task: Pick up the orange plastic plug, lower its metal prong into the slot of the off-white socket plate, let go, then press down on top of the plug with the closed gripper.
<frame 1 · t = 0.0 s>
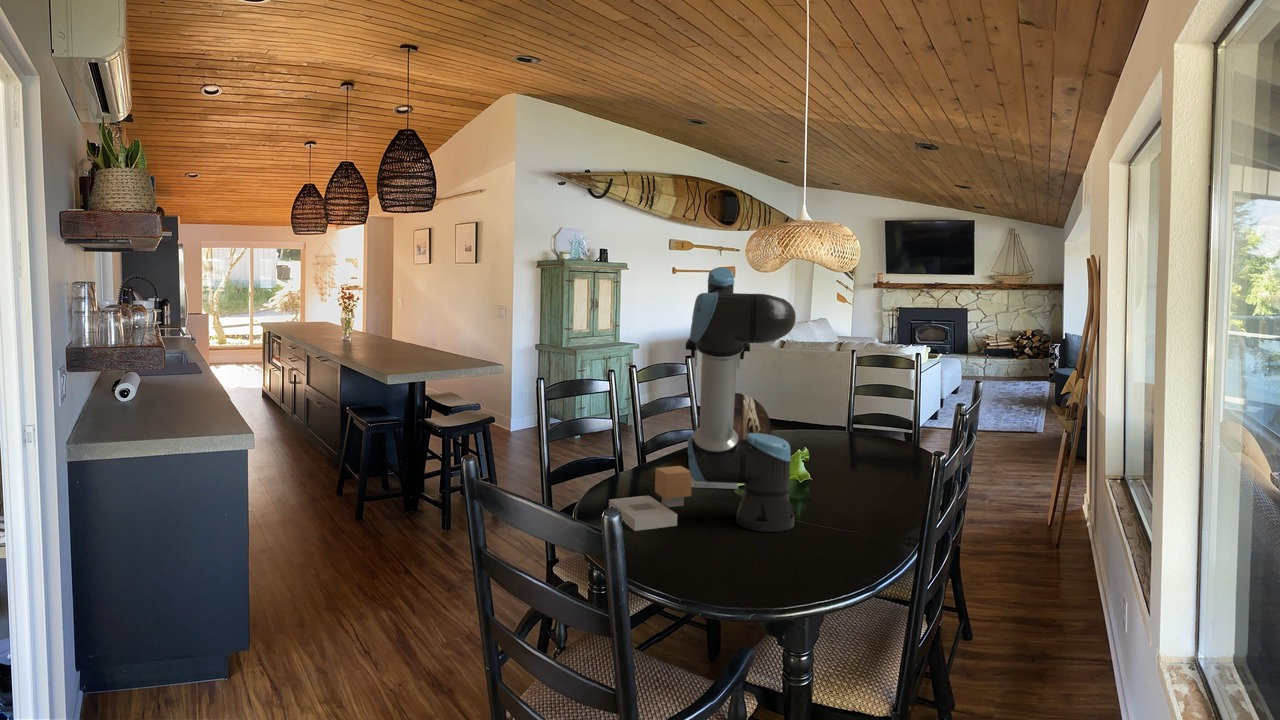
hand: (716, 365, 247), 36 cm above the table, tool tilted 35°, fingers open, 13 cm apart
plug: (672, 504, 217), on the table
tea box: (713, 485, 238), on the table
sphere: (732, 465, 263), on the table
socket plate: (642, 517, 205), on the table
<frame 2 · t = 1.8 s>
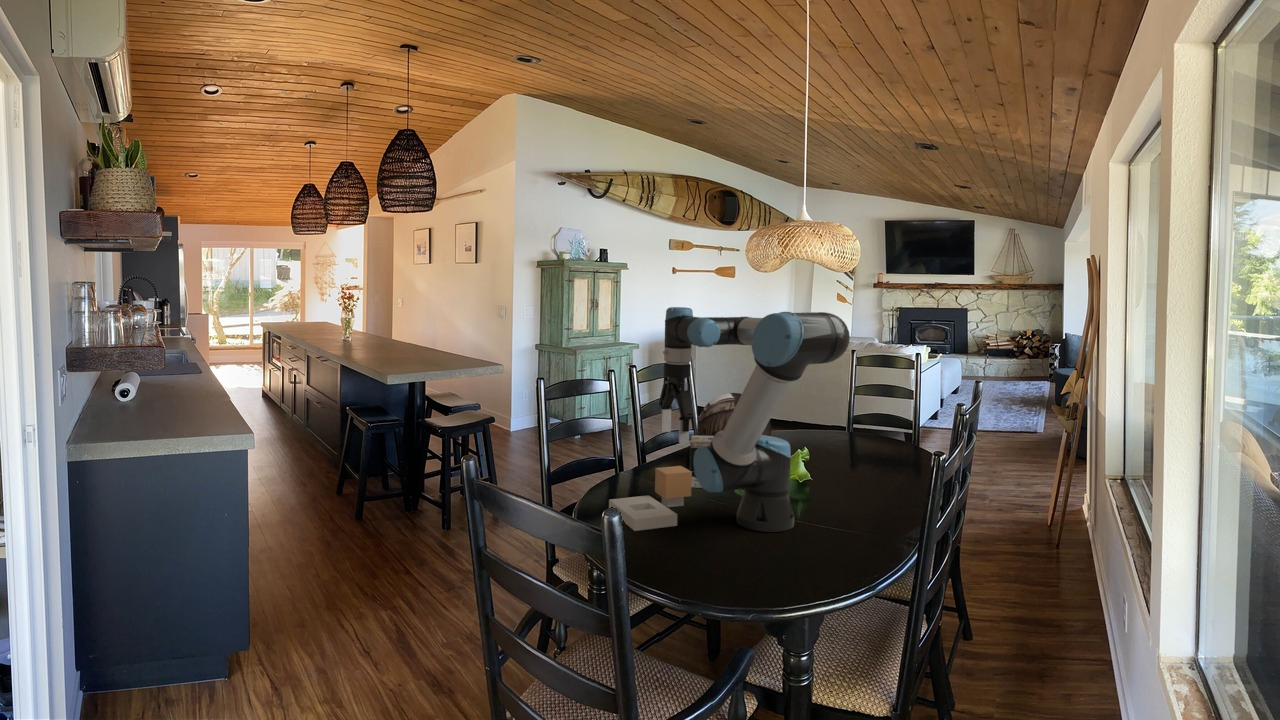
hand: (674, 437, 217), 19 cm above the table, tool pointing down, fingers open, 13 cm apart
nothing on the table moved.
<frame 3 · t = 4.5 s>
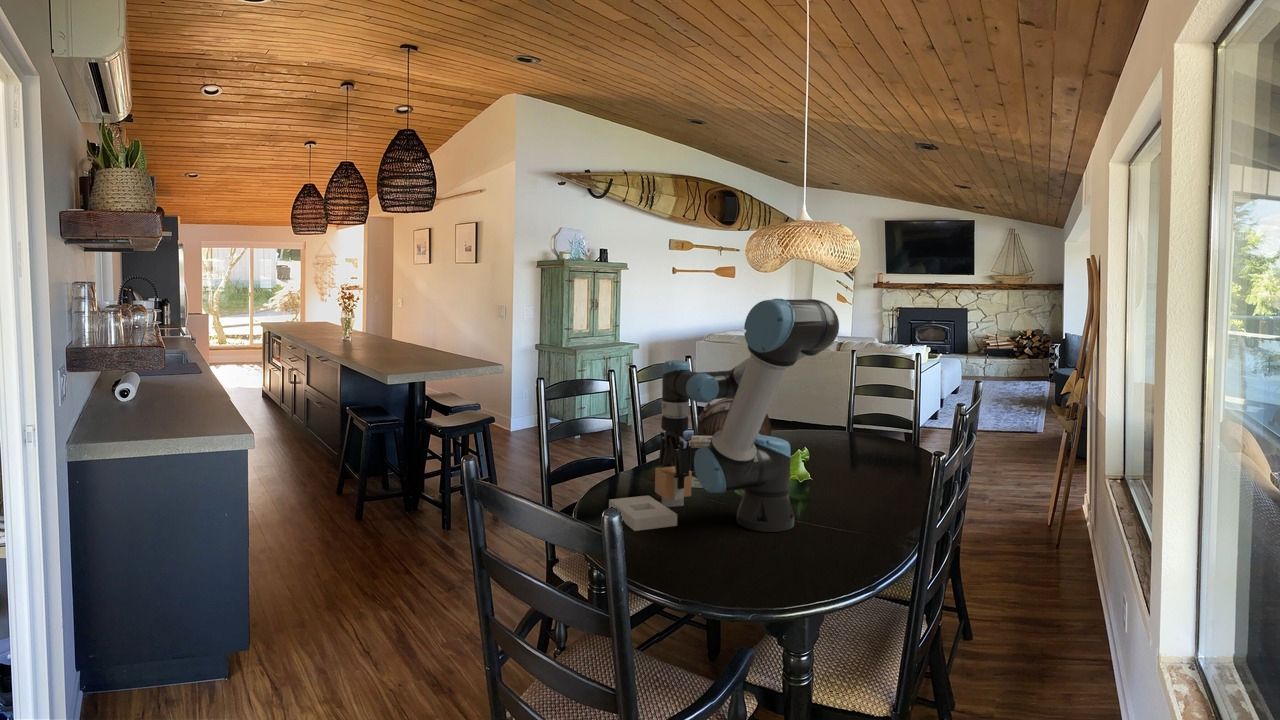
hand: (672, 495, 217), 3 cm above the table, tool pointing down, fingers closed on plug, 7 cm apart
plug: (672, 504, 217), on the table, touching gripper
everything else where it was.
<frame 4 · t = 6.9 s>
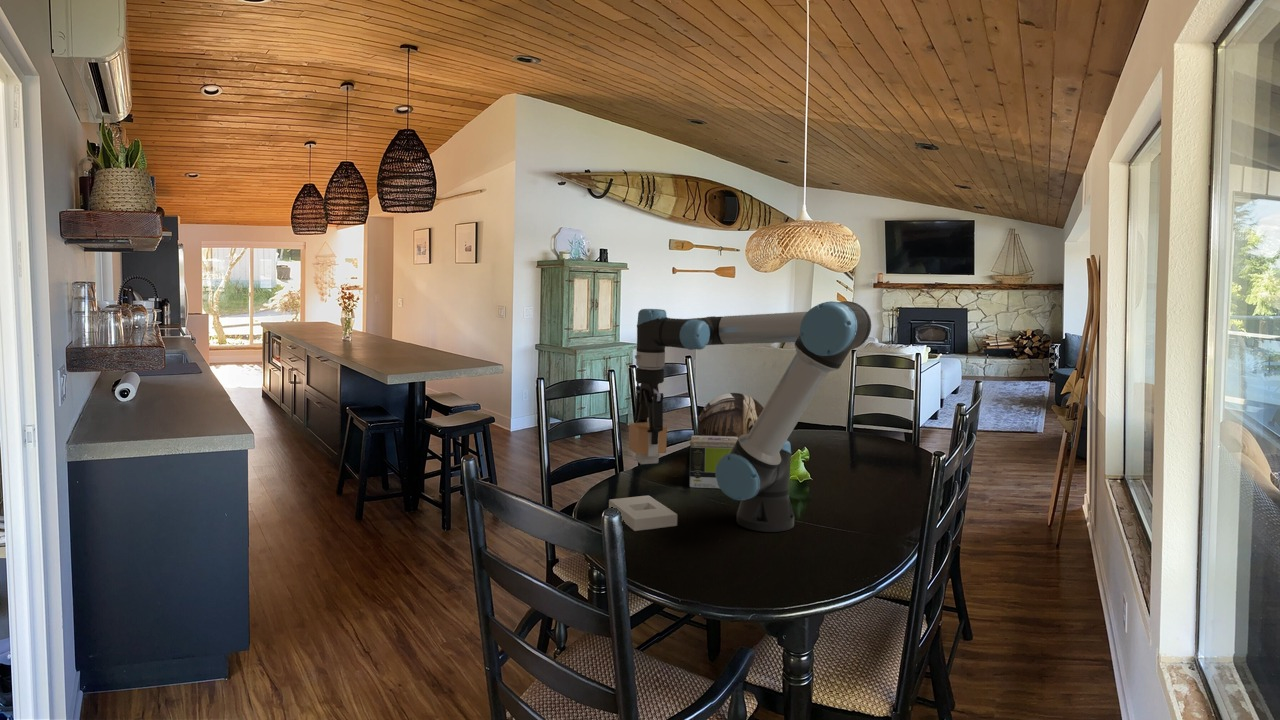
hand: (647, 452, 205), 17 cm above the table, tool pointing down, fingers closed on plug, 7 cm apart
plug: (646, 461, 205), point 15 cm above the table, touching gripper
everything else where it was.
when the fingers open (4 cm above the table, at t = 9.4 s): plug drops 1 cm, resting on socket plate.
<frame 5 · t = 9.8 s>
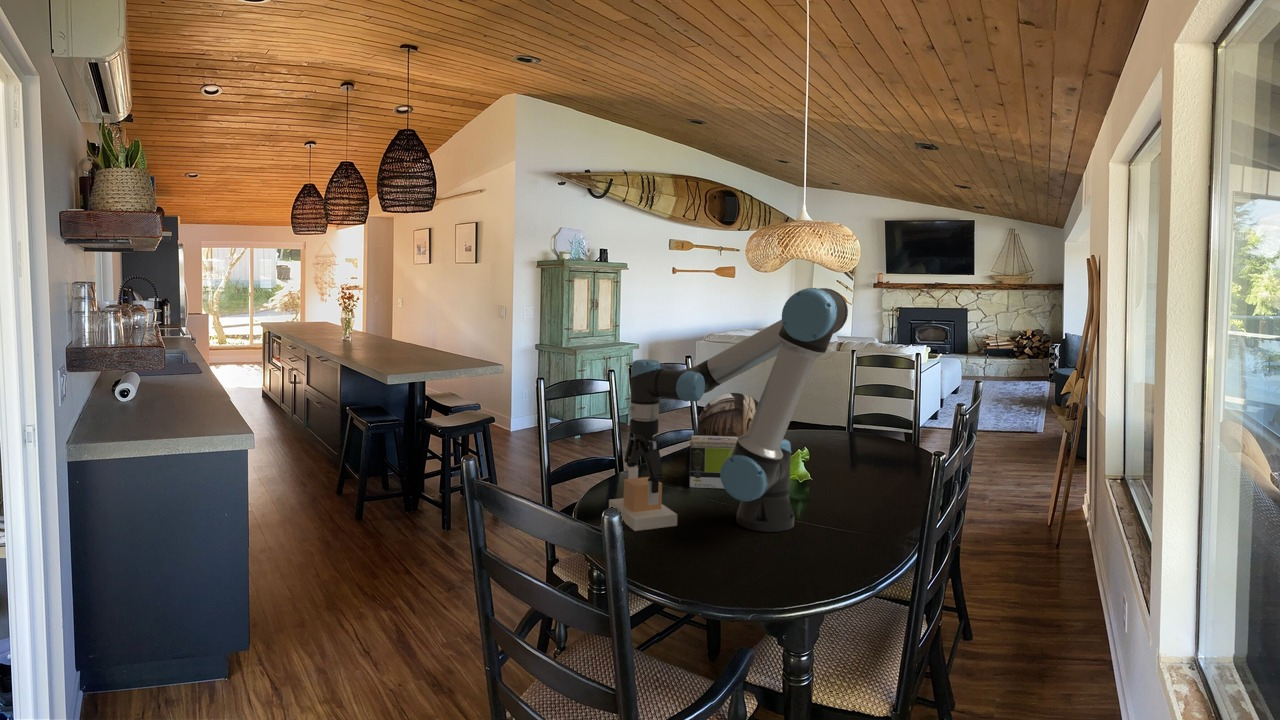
hand: (642, 497, 204), 6 cm above the table, tool pointing down, fingers open, 13 cm apart
plug: (642, 517, 205), resting on socket plate
everything else where it was.
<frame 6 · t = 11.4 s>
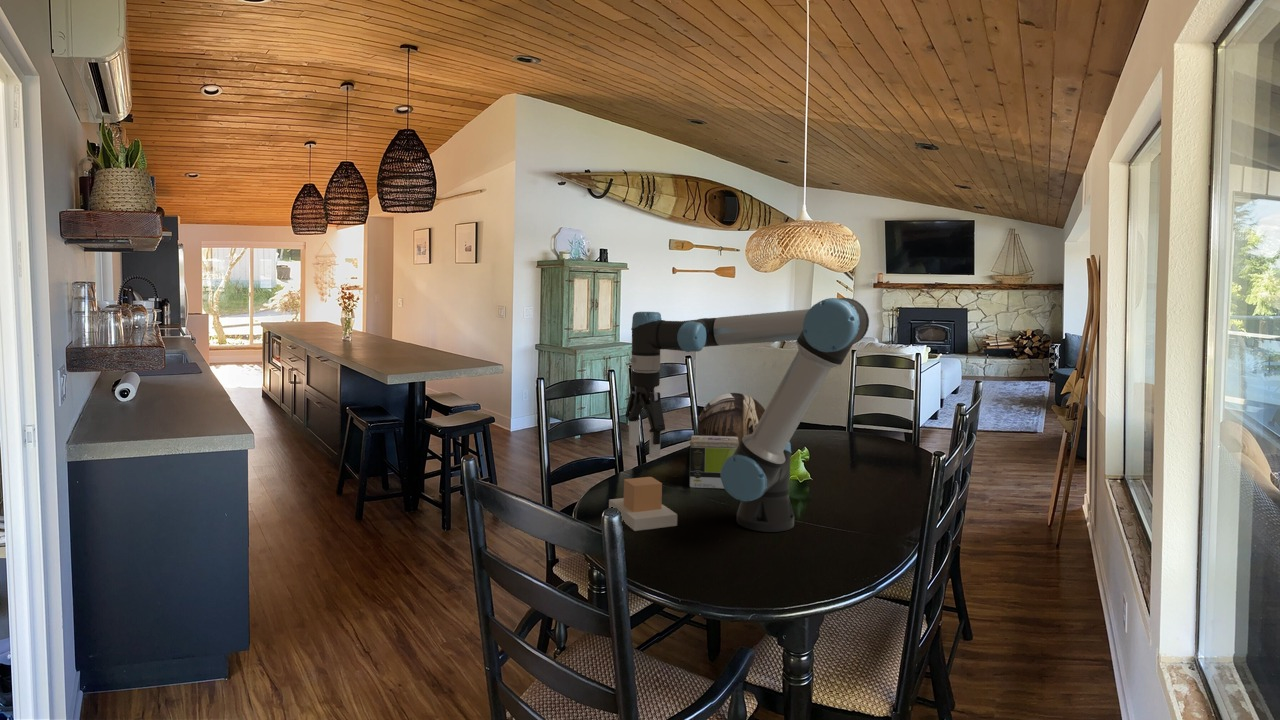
hand: (643, 450, 203), 18 cm above the table, tool pointing down, fingers open, 13 cm apart
nothing on the table moved.
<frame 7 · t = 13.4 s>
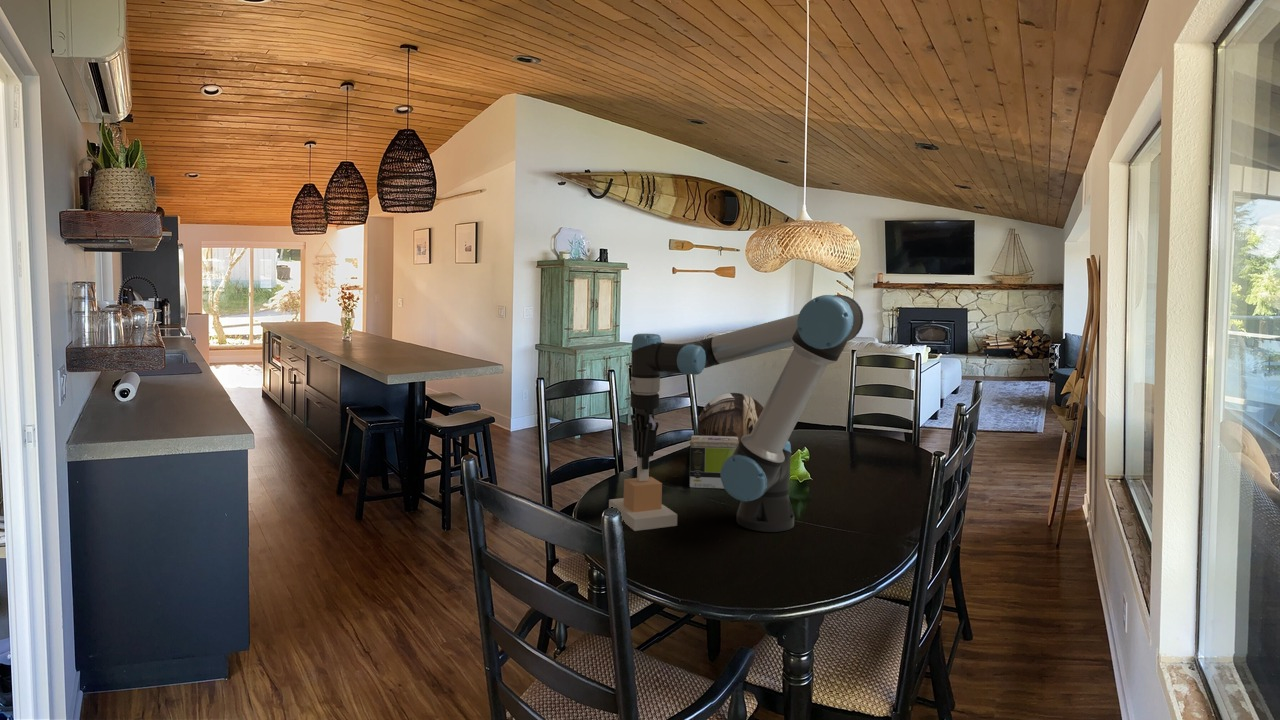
hand: (642, 480, 204), 10 cm above the table, tool pointing down, fingers closed
plug: (642, 517, 205), resting on socket plate, touching gripper
everything else where it was.
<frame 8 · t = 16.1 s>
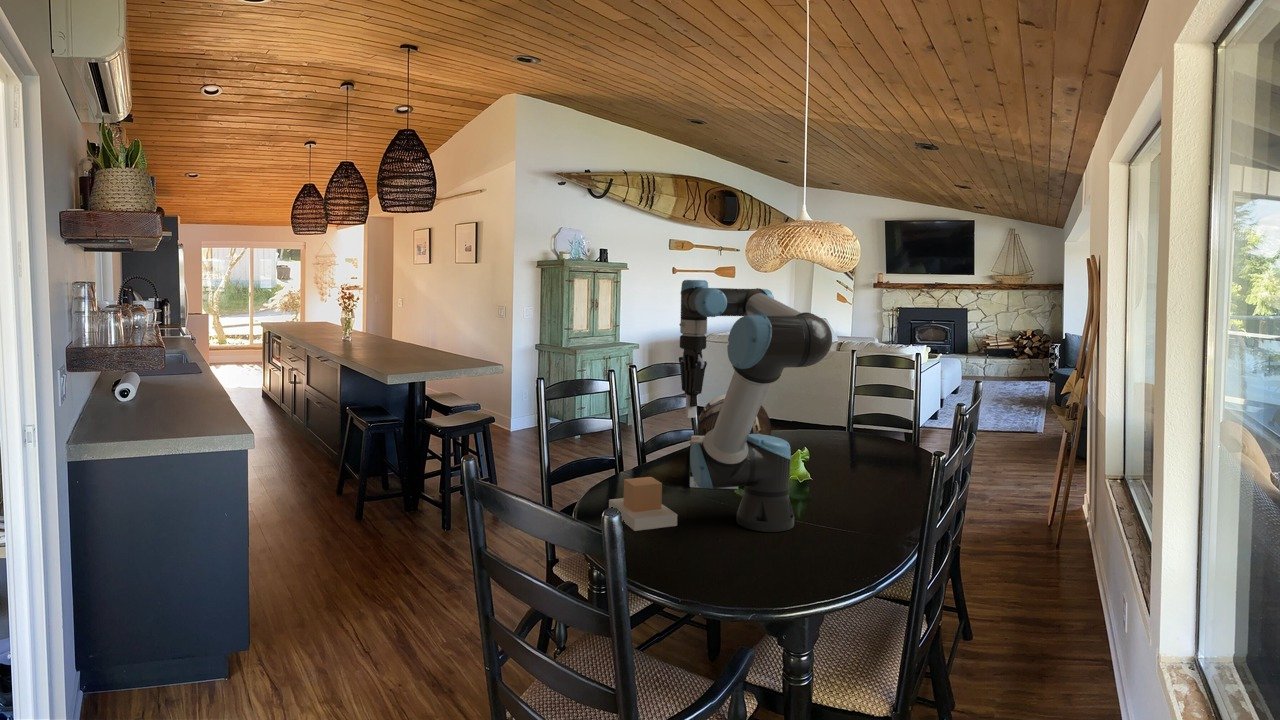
hand: (690, 417, 219), 24 cm above the table, tool pointing down, fingers closed
plug: (642, 517, 205), resting on socket plate
everything else where it was.
at the end: plug 0.0 cm off-centre on the socket plate, point 0.0 cm above the socket plate's base; plug tilted 0°; the gripper is holding nothing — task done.
